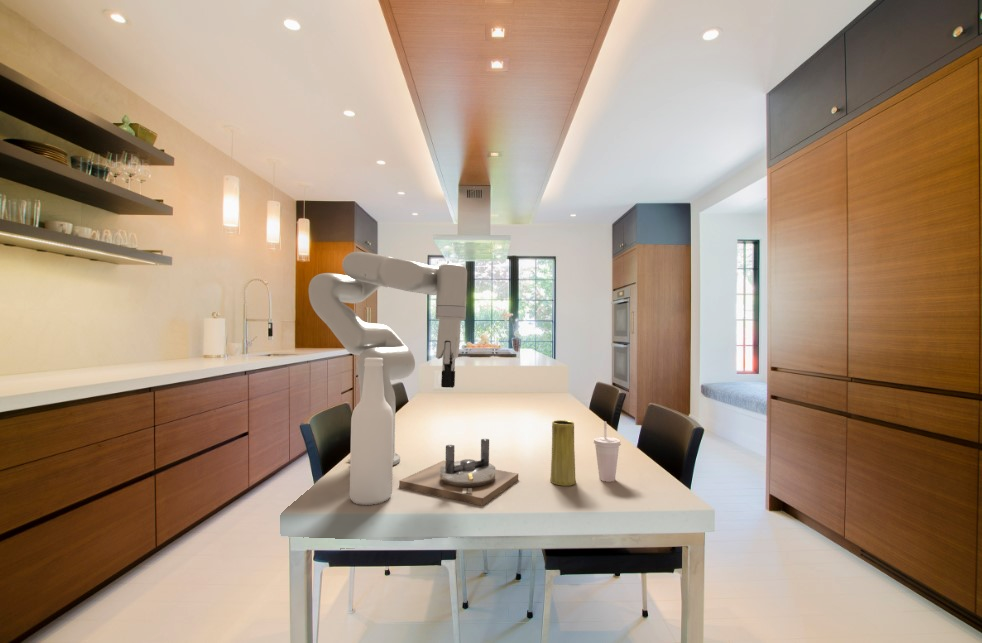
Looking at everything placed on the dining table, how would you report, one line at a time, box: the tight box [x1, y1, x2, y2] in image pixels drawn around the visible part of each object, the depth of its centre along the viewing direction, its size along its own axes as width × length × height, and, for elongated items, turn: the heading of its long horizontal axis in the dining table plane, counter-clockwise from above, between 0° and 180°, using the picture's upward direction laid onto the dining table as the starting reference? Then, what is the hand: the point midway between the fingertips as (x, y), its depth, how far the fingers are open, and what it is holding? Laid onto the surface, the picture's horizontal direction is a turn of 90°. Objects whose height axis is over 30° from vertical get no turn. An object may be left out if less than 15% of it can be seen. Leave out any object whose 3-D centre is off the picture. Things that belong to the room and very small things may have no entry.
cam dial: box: [440, 438, 496, 487], centre depth 98 cm, size 13×14×8 cm
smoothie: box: [593, 421, 622, 483], centre depth 103 cm, size 6×6×14 cm
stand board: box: [398, 460, 519, 506], centre depth 99 cm, size 22×18×2 cm
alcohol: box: [349, 358, 394, 506], centre depth 90 cm, size 9×9×30 cm
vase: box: [549, 419, 577, 487], centre depth 101 cm, size 6×6×14 cm
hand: (447, 386), depth 105 cm, fingers closed
